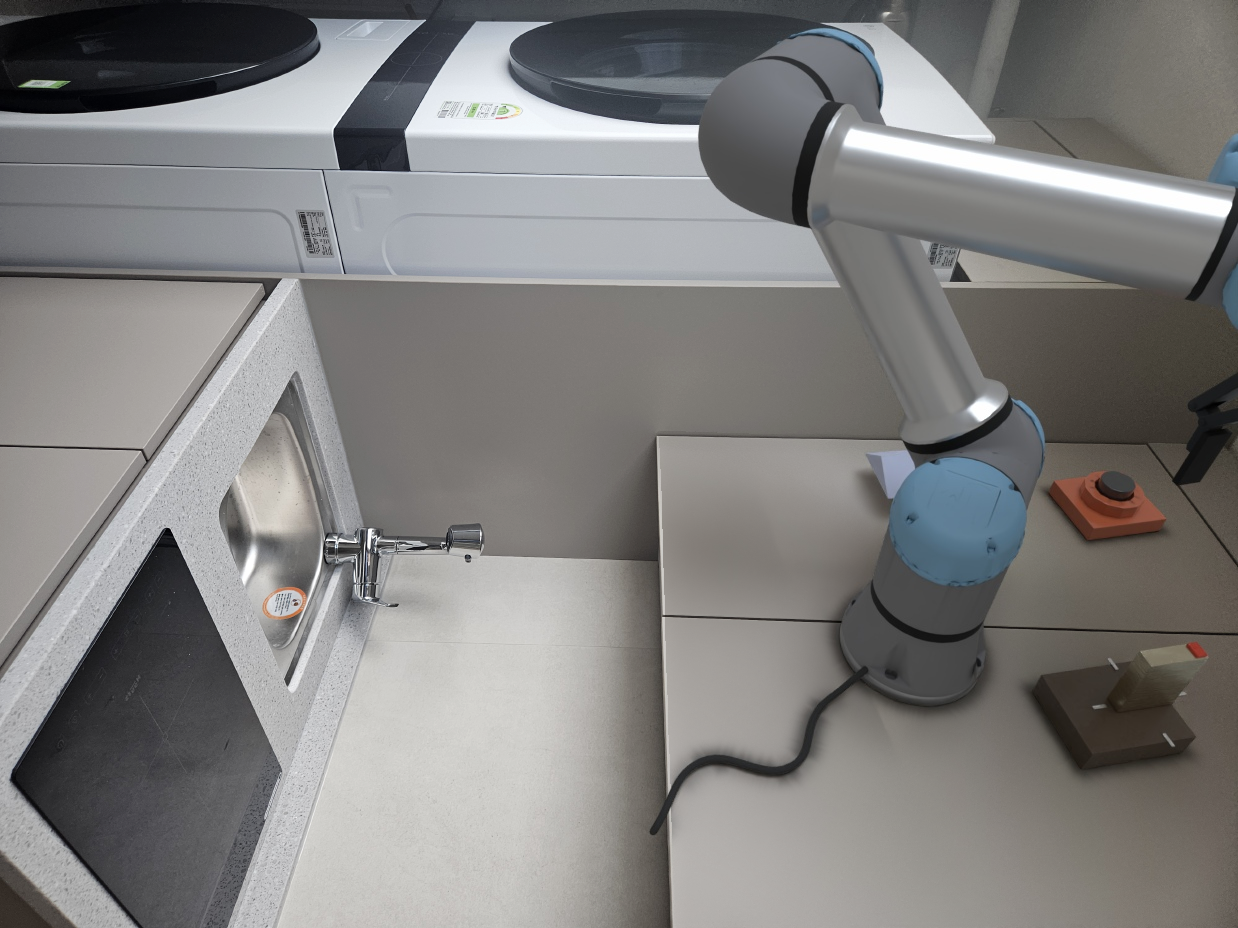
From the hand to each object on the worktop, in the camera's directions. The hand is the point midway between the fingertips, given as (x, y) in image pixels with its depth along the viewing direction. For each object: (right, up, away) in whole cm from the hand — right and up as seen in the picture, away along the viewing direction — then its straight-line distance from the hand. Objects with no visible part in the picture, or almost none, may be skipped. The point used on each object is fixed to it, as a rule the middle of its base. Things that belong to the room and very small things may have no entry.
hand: (1236, 529), depth 77 cm
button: (+5, +3, +27) cm, 27 cm away
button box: (+5, 0, +29) cm, 29 cm away
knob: (-6, -18, +4) cm, 19 cm away
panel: (-8, -20, +6) cm, 22 cm away
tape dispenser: (-18, +3, +33) cm, 38 cm away
